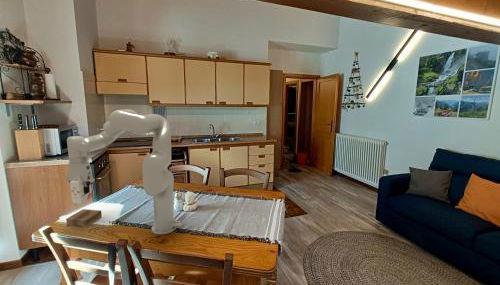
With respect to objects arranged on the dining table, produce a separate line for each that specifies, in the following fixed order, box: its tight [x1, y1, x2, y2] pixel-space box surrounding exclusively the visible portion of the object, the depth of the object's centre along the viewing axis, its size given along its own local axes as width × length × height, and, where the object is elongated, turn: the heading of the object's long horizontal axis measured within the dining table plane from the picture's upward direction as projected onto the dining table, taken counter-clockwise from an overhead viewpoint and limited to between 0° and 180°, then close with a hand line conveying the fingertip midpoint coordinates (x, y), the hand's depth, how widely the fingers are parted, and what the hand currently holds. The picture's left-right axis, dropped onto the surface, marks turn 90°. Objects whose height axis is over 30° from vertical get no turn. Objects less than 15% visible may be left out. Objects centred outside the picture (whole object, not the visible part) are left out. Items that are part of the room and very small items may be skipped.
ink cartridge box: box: [69, 176, 93, 204], centre depth 123 cm, size 9×5×15 cm, turn 179°
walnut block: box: [65, 208, 103, 229], centre depth 127 cm, size 11×11×4 cm
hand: (81, 192), depth 124 cm, fingers closed on ink cartridge box, 5 cm apart
